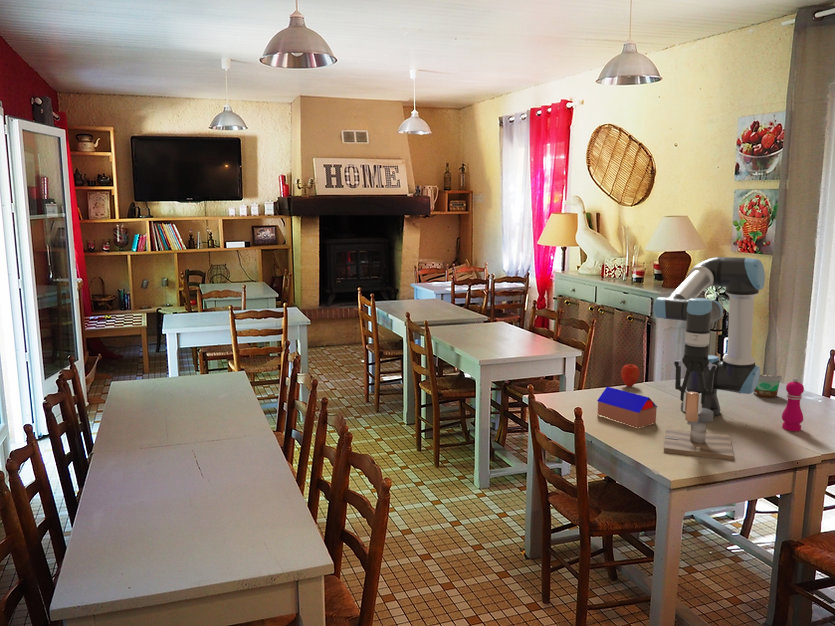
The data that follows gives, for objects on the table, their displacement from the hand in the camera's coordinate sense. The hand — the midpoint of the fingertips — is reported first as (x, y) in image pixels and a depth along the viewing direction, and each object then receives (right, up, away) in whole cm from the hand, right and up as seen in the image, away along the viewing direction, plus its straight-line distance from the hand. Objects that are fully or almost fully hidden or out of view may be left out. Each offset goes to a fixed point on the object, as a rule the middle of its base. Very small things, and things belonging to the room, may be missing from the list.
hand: (692, 411), depth 232 cm
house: (-10, -9, +40) cm, 42 cm away
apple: (+6, -1, +88) cm, 89 cm away
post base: (+6, -14, +10) cm, 18 cm away
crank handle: (+4, -4, +6) cm, 8 cm away
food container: (+62, -4, +71) cm, 94 cm away
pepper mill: (+49, -11, +28) cm, 58 cm away
